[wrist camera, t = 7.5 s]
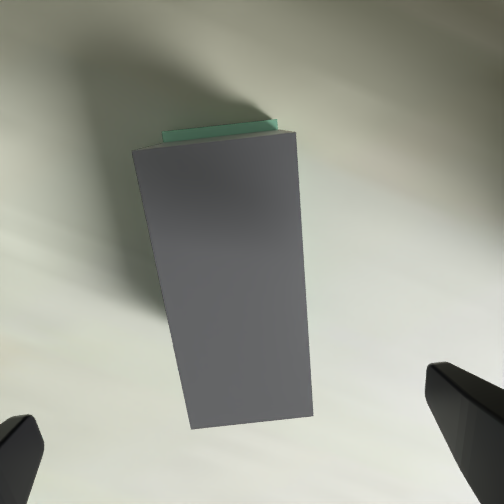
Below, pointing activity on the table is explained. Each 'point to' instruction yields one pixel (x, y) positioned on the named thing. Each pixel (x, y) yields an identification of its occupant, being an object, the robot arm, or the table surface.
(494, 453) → the robot arm
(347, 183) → the table surface
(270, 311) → the block
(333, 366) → the table surface
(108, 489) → the table surface
